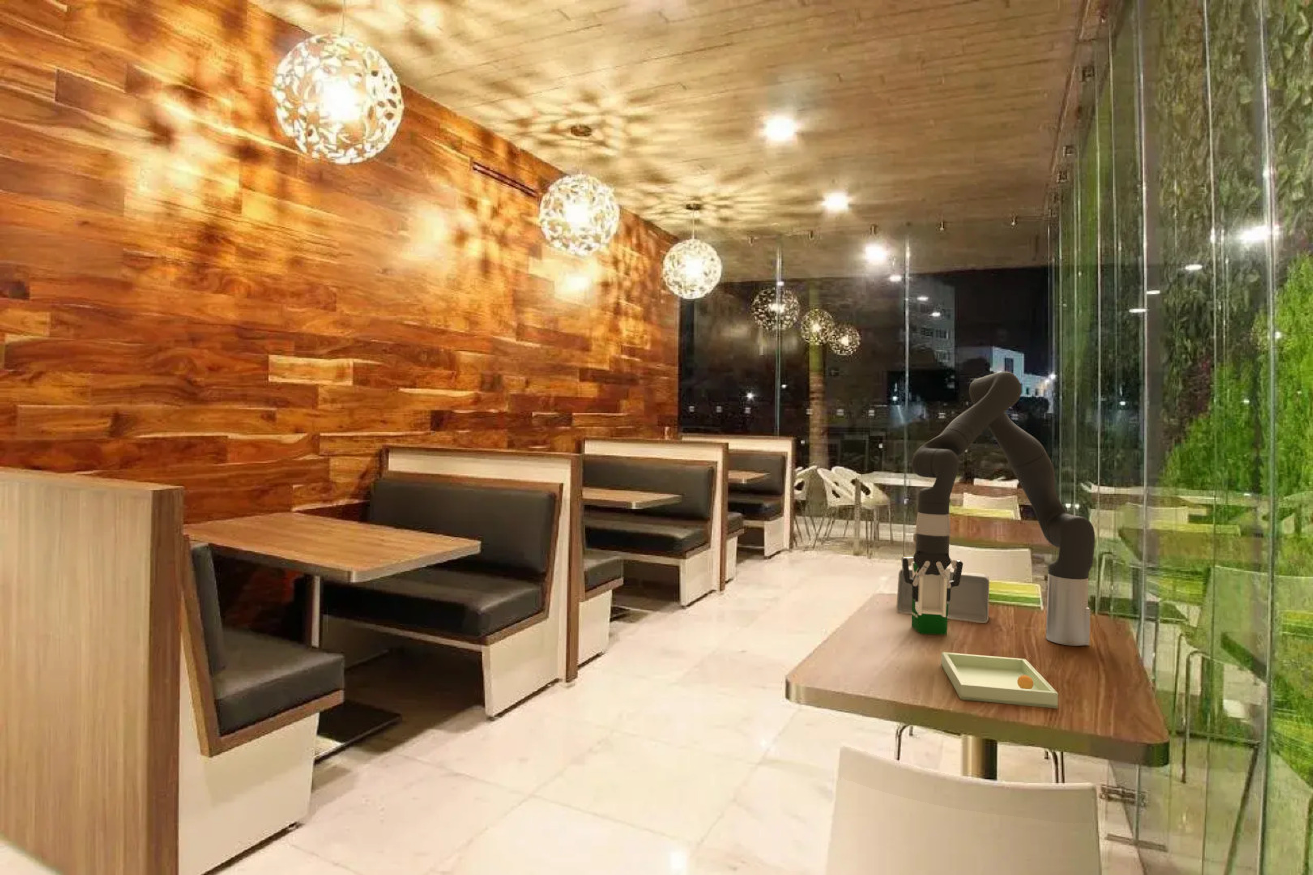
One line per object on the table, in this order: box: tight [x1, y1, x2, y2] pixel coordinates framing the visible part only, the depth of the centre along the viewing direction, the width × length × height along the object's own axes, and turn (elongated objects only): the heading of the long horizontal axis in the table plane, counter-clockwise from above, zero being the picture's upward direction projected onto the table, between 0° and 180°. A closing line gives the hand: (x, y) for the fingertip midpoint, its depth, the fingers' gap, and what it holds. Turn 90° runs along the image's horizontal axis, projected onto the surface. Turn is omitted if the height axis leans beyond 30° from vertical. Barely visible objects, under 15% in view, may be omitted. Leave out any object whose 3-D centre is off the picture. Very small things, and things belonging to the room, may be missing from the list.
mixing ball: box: [1017, 675, 1033, 689], centre depth 153 cm, size 3×3×3 cm
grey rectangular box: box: [896, 566, 990, 624], centre depth 220 cm, size 25×16×12 cm, turn 66°
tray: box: [940, 651, 1059, 709], centre depth 157 cm, size 18×22×3 cm
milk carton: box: [911, 561, 951, 636], centre depth 199 cm, size 9×9×20 cm
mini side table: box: [915, 574, 947, 617], centre depth 175 cm, size 6×6×9 cm
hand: (930, 601), depth 175 cm, fingers closed on mini side table, 6 cm apart
